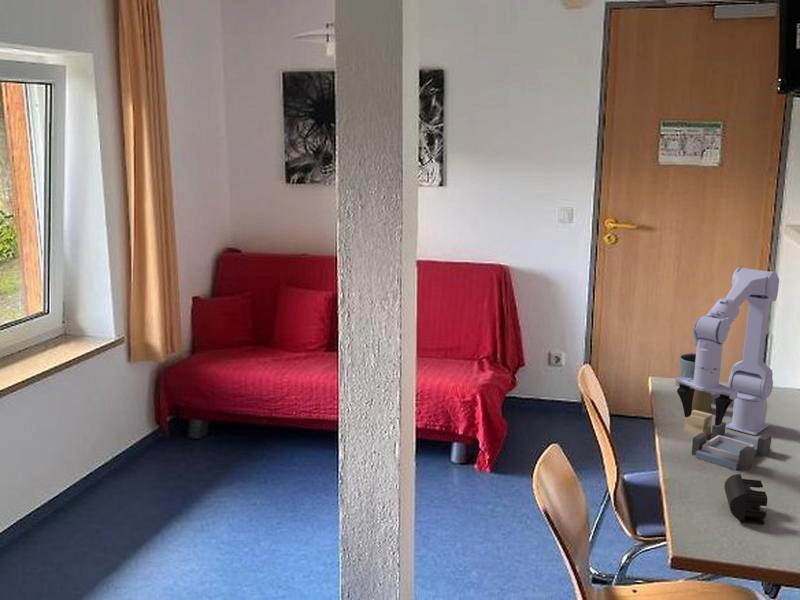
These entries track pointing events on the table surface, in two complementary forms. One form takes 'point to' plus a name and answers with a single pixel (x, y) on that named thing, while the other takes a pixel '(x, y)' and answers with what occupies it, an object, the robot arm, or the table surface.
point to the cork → (701, 401)
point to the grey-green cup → (687, 365)
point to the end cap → (745, 499)
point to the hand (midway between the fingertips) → (702, 420)
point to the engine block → (698, 423)
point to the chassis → (729, 448)
